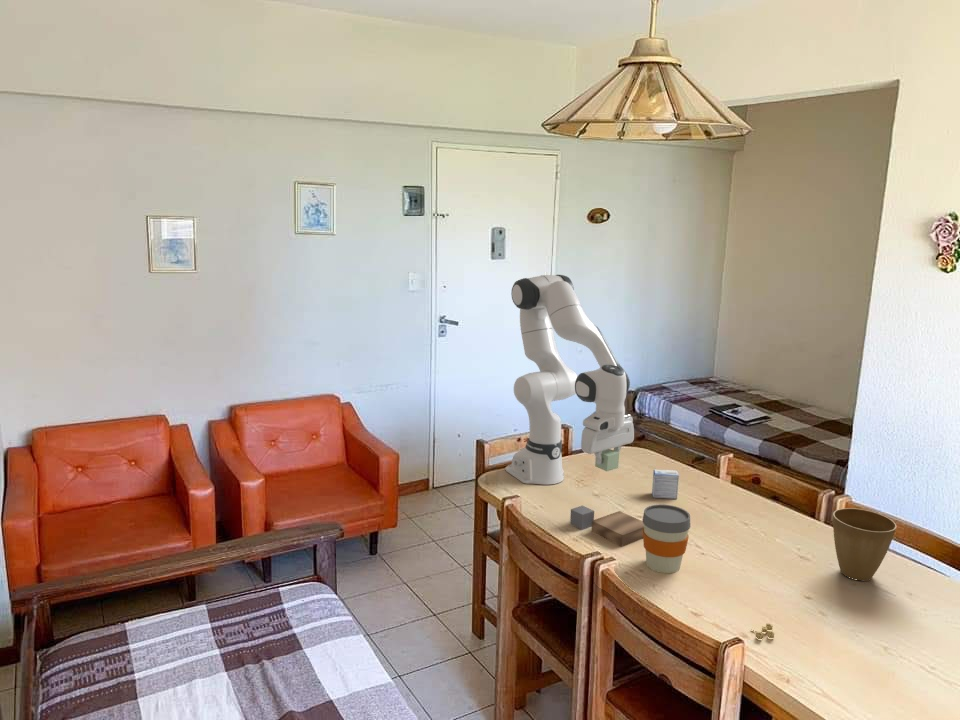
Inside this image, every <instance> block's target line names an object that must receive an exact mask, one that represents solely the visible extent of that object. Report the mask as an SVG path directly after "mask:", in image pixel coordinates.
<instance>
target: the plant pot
mask: <svg viewBox="0 0 960 720" xmlns="http://www.w3.org/2000/svg"><path fill="white" fill-rule="evenodd" d="M832 526H833V528H832V529H833V530H832V531H833V541H834V547H835V555H836V559H837V563H838V566H839V571H840V573H841V572H842V573H843V574H844V575H846V576H848V577H850V578H853V579H857V580H869V579H872V578H873V577H874V576H875V574H876V572H877V571H878V569H879V568H880V566H881V564H882V563H883V561H884V559H885V557H886V555H887V553H888V551H889V548H890V546H891V544H892V541H893V538H894V536H895V533H896V529H897V527H898V526H897V523H895V521H894V520H893V519H892V518H889V517H888V516H885V515H883V514H881V513H878V512H876V511H872V510H867V509H862V508H854V507H852V508H851V507H845V508H838V509H835V511H833V512H832ZM842 573H841V574H842ZM843 574H842V575H843ZM844 575H843V576H844ZM846 576H845V577H846ZM850 578H849V579H850ZM853 579H852V580H853ZM869 581H870V580H869Z"/></svg>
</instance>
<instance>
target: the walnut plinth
mask: <svg viewBox="0 0 960 720" xmlns="http://www.w3.org/2000/svg"><path fill="white" fill-rule="evenodd" d="M643 529H644V524H643V520H640V519H638V518H636V517H634V516H631V515H629V514H627V513H625V512H623V511H621V510H618V511H616V512H613V513H610V514H607V515H604V516H602V517H599V518H596V519H595V518H594V520H592V527H591V531H590V532H591V533H593V534H594V535H596V536H600V537H601V538H603V539H604V540H607V541H610V542H611V543H613V544H615V545H617V546H619V547H621V548H623V547H625V546H628V545H630V544H632V543H635V542H638V541H639V540H643Z"/></svg>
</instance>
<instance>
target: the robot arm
mask: <svg viewBox="0 0 960 720" xmlns="http://www.w3.org/2000/svg"><path fill="white" fill-rule="evenodd" d="M511 300H512V303H513V304H514V305H515V307H516V308H518V309H519V324H520V325H519V327H520V332H521V334H520V335H521V338H522V345H523V350H524V355H525V357H526V358H527V359H528V360H529V361H531V362H534V363H535V364H536V366H537V367H538V370H539V371H535V372H528V373H526V374H523V375H520V376H518V377H517V378H516V379H515V381H514V384H513V393H514V397H515V399H516V400H517V401H518V403H520V404H521V405H522V406H523V407H524V409H525V410H526V412H527V414H528V421H529V424H528V425H529V432H528V433H529V437H527V438H524V439H523V440H524V441H523V442H524V443H526V444H525V447H523V448H521V449H520V450H519V451H517V452H515V453H514V455H513V456H512V459H511V464H508V465H507V466H505V468H504V471H505V470H506V471H505V472H507V473H508V474H509V475H511V476H513V477H514V478H515V479H517V480H518V481H520V482H521V483H523V484H532V485H533V484H536V485H545V486H546V485H554V484H555V485H556V484H559V483H561V482H563V481H564V479H565V476H564V474H565V470H564V469H563V458H562V457H563V456H562V454H563V453H562V449H563V448H562V446H563V442H562V419H561V417H560V416H559V415H558V414H557V412H556V413H555V412H554V411H553V410H552V407H551V406H552V404H551V403H553V402H557V401H563V400H566V399H568V398H570V397H573V396H574V395H576V396H577V397H578V399H579V400H581V401H582V402H584V403H594V404H595V405H596V406H595V411H594V412H593V413H591V414H589V415H588V416H587V417H585V418H584V419H583V421H582V425H583V427H584V428H583V429H582V433H581V441H580V442H581V443H580V448H581V450H582V452H584V453H586V454H588V455H591V454H594V456H595V460H596V463H597V464H602V463H603V461H604V458H602V457H601V454H602V451H604V450H607V449H611V450H613V451H616V452H618V453H619V454H620V451H621V450H622V446H625V445H628V444H632V443H633V441H634V439H635V427H634V423H633V422H634V419H633V416H632V415H631V414H629V413H626V406H625V401H626V397H627V394H628V393H629V389H630V387H631V386H630V385H631V382H630V377H629V375H628V373H627V371H625V369H624V368H623V367H622V365H621V364H620V363H619V361H618V360H617V357H616V356H615V354H614V352H613V350H612V349H611V347H610V345H609V343H608V341H607V339H606V337H605V336H604V334H603V332H602V331H601V330H600V328H599V327H598V326H597V325H596V324H594V323H593V322H592V321H591V320H590V319H589V317H588V316H587V315H586V313H585V310H584V309H583V306H582V304H581V302H580V299H579V297H578V295H577V294H576V292H575V287H574V285H573V282H572V280H571V278H570V277H568V276H567V275H563V274H544V275H543V274H542V275H539V276H533V277H528V278H527V277H524V278H520V279H519V280H516V281H515V282H514V283H513V285H512V287H511ZM554 332H555V333H556V335H557V336H558V337H560V338H561V339H562V340H563V339H564V340H566V341H569V342H573V343H577V344H580V345H582V346H584V347H586V348H588V349H589V350H590V351H591V352H592V354H593V356H594V358H595V360H596V362H597V364H598V366H599V368H598V369H594V370H590V371H589V370H588V371H584V372H580V373H579V374H578V375H577V373H576V372H575V371H574V370H573V369H571V368H570V367H568V365H566V363H565V362H564V361H563V359H562V358H561V355H560V354H559V353H560V352H559V350H558V348H557V343H556V340H555V333H554Z"/></svg>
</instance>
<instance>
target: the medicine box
mask: <svg viewBox="0 0 960 720" xmlns="http://www.w3.org/2000/svg"><path fill="white" fill-rule="evenodd" d="M652 473H653V475H652V486H651V487H652V488H651V492H652V493H651V494H652V497H653V499H671V500H672V499H675V500H676V499H678V494H679V481H680V475H679V473H678V471H677V470H672V469H653V472H652Z"/></svg>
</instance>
